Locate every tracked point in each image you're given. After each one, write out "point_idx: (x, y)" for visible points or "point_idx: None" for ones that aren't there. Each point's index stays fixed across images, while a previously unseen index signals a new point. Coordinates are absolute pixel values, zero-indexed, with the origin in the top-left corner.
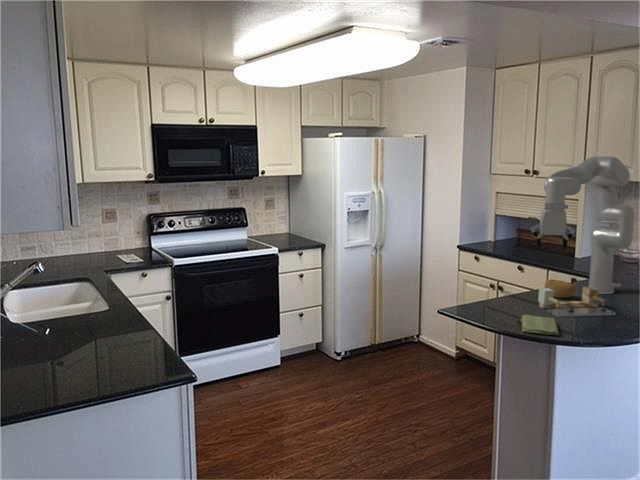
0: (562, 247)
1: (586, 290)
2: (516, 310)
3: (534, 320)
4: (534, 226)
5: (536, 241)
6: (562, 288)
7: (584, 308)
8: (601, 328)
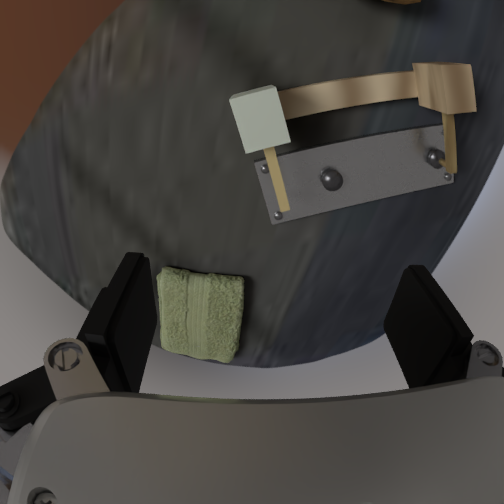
0: (402, 294)
1: (440, 91)
2: (148, 169)
3: (187, 319)
4: None
5: (89, 319)
6: None
7: (389, 140)
8: (354, 295)
